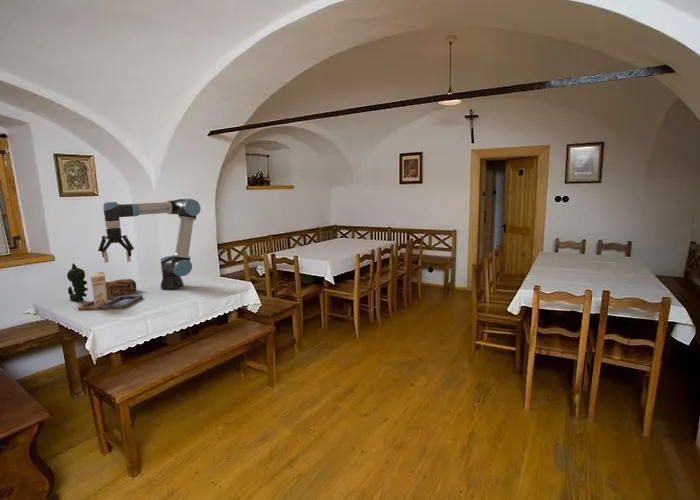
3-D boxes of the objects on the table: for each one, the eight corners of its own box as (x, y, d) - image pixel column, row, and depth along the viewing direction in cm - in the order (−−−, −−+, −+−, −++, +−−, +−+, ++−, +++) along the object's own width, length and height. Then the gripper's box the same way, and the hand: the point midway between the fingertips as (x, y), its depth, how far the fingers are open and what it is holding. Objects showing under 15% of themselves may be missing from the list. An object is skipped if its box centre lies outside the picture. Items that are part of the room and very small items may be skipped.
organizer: (143, 298, 250) (142, 295, 250) (124, 308, 228) (124, 305, 228) (100, 299, 249) (100, 296, 249) (78, 310, 227) (77, 307, 227)
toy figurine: (76, 304, 240) (71, 265, 236) (62, 300, 249) (56, 263, 245) (92, 300, 248) (87, 262, 244) (78, 296, 257) (73, 260, 253)
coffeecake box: (108, 306, 234) (104, 275, 231) (94, 308, 230) (90, 277, 227) (108, 300, 246) (104, 271, 243) (95, 302, 243) (91, 273, 240)
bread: (106, 298, 252) (105, 283, 251) (102, 295, 260) (100, 281, 258) (137, 292, 265) (135, 278, 264) (132, 290, 273) (131, 276, 271)
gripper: (137, 226, 235) (141, 260, 239) (96, 227, 234) (100, 261, 238) (131, 227, 228) (135, 262, 231) (88, 229, 227) (93, 263, 230)
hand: (117, 262), depth 235 cm, fingers open, 13 cm apart
